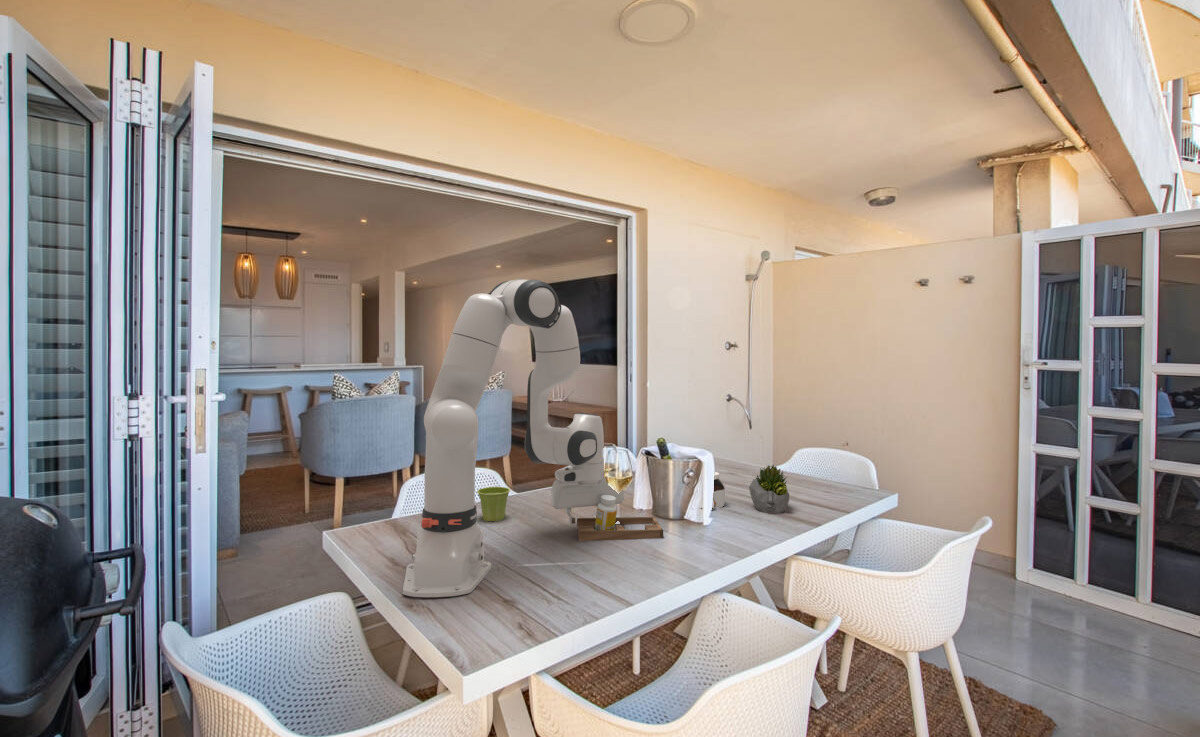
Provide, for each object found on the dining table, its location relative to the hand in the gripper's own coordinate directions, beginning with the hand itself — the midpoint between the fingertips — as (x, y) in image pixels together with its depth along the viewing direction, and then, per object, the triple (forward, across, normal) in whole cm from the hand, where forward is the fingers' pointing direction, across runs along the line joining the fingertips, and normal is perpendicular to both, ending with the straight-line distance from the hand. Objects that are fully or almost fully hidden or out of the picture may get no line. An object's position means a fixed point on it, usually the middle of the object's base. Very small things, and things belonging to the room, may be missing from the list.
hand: (587, 522), depth 154 cm
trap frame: (+2, -7, +5) cm, 9 cm away
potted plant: (+3, -59, -2) cm, 59 cm away
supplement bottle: (+2, -4, +3) cm, 5 cm away
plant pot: (+2, +24, -18) cm, 30 cm away
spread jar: (+3, -41, -9) cm, 42 cm away
